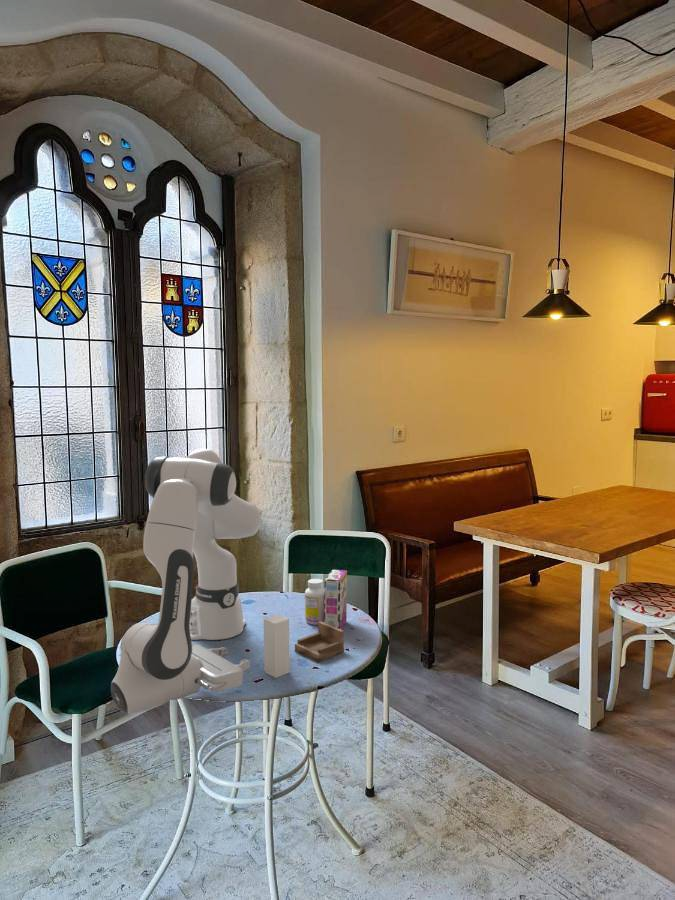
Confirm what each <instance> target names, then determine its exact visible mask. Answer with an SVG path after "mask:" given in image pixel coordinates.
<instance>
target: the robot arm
mask: <svg viewBox="0 0 675 900" xmlns="http://www.w3.org/2000/svg"><path fill="white" fill-rule="evenodd" d="M144 487H145V490H146V492H147V493H148V495H149V497H152V500H151V501H152V502H151V505H150V508H149V511H148V513H147V514H148V515H147V519H146V523H145V526H144V527H145V528H144V533H143V544H142V545H143V546H142V547H143V553H144V555H145V558H147V559H146V560H147V561H149V563H150V564H152V566H154V568H155V570H156V571H157V573H158V575H159V576H160V578H161V583H162V584H161V585H162V586H161V587H162V589H161V597H160V598H161V599H160V607H159V615H158V623H157V624H156V623H152V622H148V621H140V622H136V623H135V624H132V625H131V626H130V627H129V628H127V630H126V631H125V632H124V634H123V636H122V637H121V641H120V652H121V653H120V660H119V664H118V668H117V672H116V674H115V676H114V678H113V679H112V681H111V684H110V694H111V697H112V700H113V702H114V703H115V705H116V706H117V708H118V710H119V711H121V712H123V713H124V714H126V715H135V714H139V713H142V712H146V711H149V710H153V709H156V708H159V707H162V706H163V705H164V704H166V703H167V702H169V701H177V700H180V699H183V698H185V697H187V696H190V695H193V694H195V693H198V692H199V691H200V690H201V688H202V687H203V689H205V690H207V691H208V690H209V691H211V692H212V693H218V692H224V691H227V690H231V689H234V688H237V687H240V686H242V684H243V682H244V673H243V672H244V671H245V670H247V669H250V667H251V661H250V660H248V659H246V658H245V659H241V660H239V664H237V663H236V664H235V663H232V662H231V661H229V660H227V659H226V658H224V657H226V656H228V654H229V653H228V651H229V650H228V648H227V647H224V646H221V647H219V648H207V647H205V646H202V645H201V644H199V643H198V644H197V643H194V644H193V643H192V642H193V641H195V640H196V641H197V640H209V641H210V640H211V641H215V640H217V641H218V640H226V639H231V638H233V637H237V636H238V635H240V634H241V633H242V632H243V631H244V626H246V624H247V619H245V618H244V616H243V605H242V599H241V597H240V596H239V595H240V594H239V591H240V590H239V583H238V582H237V581H238V579H237V576H238V575H237V559H236V557H235V556H234V554H232V553H231V552H230V551H229V550H227V549H225V548H222V547H221V546H220V545H219V544H217V542H216V540H221V539H222V540H224V539H225V540H226V539H227V540H228V539H229V540H230V539H231V540H235V539H243V538H248V537H252V536H254V535H256V533H257V532H258V531H259V529H260V526H261V522H262V521H261V520H262V519H261V518H262V517H261V516H262V515H261V513H260V510H259V508H258V506H256V504H254V503H253V502H250V501H247V500H245V499H242V498H241V497H239V496H238V495H236V493H235V492H236V488H237V479H236V472H235V470H234V469H233V468H232V467H231V466H230V465H229V464H226V463H223V462H222V460H221V458H220V456H219V455H218V454H217V453H216V452H215V451H213V450H211V449H208V448H198V449H195V450H193V451H191V452H190V453H189V454H188V455H187V456H186V457H170V456H165V455H164V456H158V457H154V458H153V459H152V460H151V461H150V462H149V463H148V465H147V468H146V471H145V473H144ZM194 557H195V560H196V566H197V575H198V578H197V579H198V583H197V584H194V579H195V577H194V576H195V575H194V574H195V567H194V565H195V564H194ZM195 586H196V587H195ZM193 588H194V589H196V590H195V594H194V595H195V596H193ZM192 597H193V598H192Z"/></svg>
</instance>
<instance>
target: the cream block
mask: <svg viewBox="0 0 675 900" xmlns="http://www.w3.org/2000/svg"><path fill="white" fill-rule="evenodd" d="M263 643H264V644H263V645H264V646H263V647H264V648H263V649H264V652H263V653H264V673H266V674H267V675H269V676H271V677H273V678H274V679H275V678H276V679H277V678H279V677H282V676H284V675H286V674H289V673H290V672H291V671H290V669H291V667H290V618H288V617H285V616H283V615H281V614H275V615H271V616H269V617H266V618H263Z"/></svg>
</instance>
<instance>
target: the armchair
mask: <svg viewBox="0 0 675 900" xmlns="http://www.w3.org/2000/svg"><path fill="white" fill-rule="evenodd" d="M317 627H318V628H317V632H315V633H313V634H310V635H308V636H305V637H301V638H298V639H297V643H294V653H295V652H296V653H297V654H299V653H300V654H299V655H301V654H302V655H301V656H303V655H304V657H306V658H308V659H310V660H312V661H314V662H316V663H319V662H322V661H325V660H328V659H330V658H332V657H335V656H338V655H340V654H341V653H342V652H343V653H344V652H345V630H343V629H342V630H341V629H338V628H336V627H334V626H331V625H329V624H326V623H324V622H321V621H320V622H318V625H317ZM339 653H340V654H339Z"/></svg>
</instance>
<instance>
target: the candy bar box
mask: <svg viewBox="0 0 675 900" xmlns="http://www.w3.org/2000/svg"><path fill="white" fill-rule="evenodd" d="M323 582H324V585H323V586H324V587H323V588H324V623H326V624H329V625H331V626H334V627H336V628H338V629H341V630H343V628H344V627H345V625H346V623H347V613H348V612H347V611H348V610H347V606H348V605H347V604H348V603H347V602H348V600H347V599H348V597H347V594H348V590H347V589H348V570H345V569H344V570H343V569H332V570H331V571H330V572H329V573H328V575H327V576H326V577H325V579H323Z"/></svg>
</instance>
